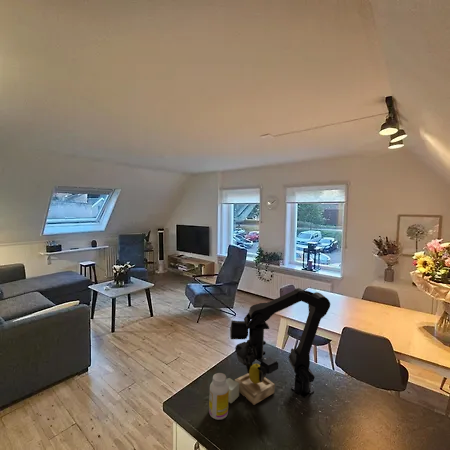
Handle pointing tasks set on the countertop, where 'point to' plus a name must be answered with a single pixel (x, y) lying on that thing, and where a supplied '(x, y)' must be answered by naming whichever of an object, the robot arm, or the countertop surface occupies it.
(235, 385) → the ceramic cube
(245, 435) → the countertop surface
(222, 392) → the supplement bottle
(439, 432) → the countertop surface
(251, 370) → the lemon
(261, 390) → the square tray
